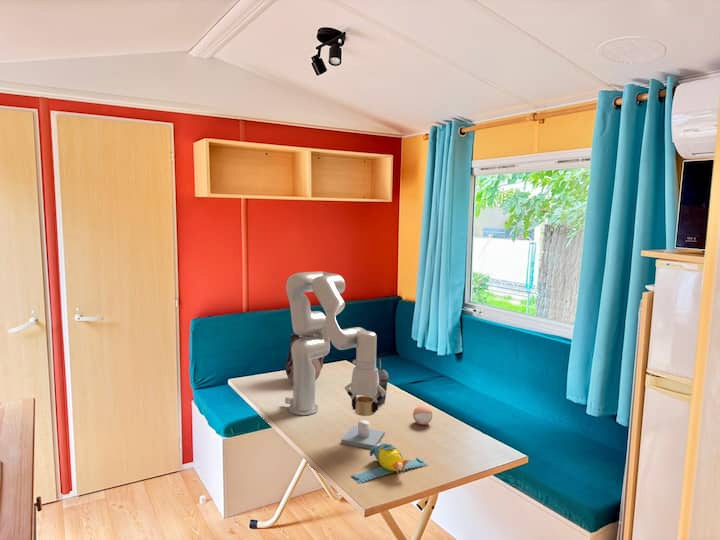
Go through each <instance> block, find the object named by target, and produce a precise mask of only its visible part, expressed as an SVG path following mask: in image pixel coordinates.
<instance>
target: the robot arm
mask: <svg viewBox="0 0 720 540" xmlns="http://www.w3.org/2000/svg"><path fill="white" fill-rule="evenodd" d="M345 290H346V282H345V280H344V278H343V277H342V276H341V275H339V274H338V273H331V272H326V271H305V272H304V271H303V272H297V273H294V274H292V275H290V276H289V277H288V279H287V281H286V286H285V291H286V296H287V297H288V302H289V307H290V317H291V325H292V330H293V334H297V335H307V334H313V336H314V337H308V338H303V339H299V340H297V341H295V342H294V343H293V345H292V348H291V352H292V358H293V382H292V397H285V399H284V401H285V402H284V404H289V405H290V406H288V411H289V412H290V413H291V414H292V415H297V416H309V415H313V414H316V413H317V412H318V411H319V406H318V404H317V403H316V381H315V373H316V372H315V367H314V365H313V364H312V362H311V360H312V359H316V358H320V357H324V356H325V357H326V356H328V354H329V353H330V351H331V350H330V349H331V344H332V345H333V347H334V348H336V349H337V350H341V351H344V350H349V349H353V348H356V351H355V352H356V353H355V354H356V356H355V359H352V364H353V365H354V364H355V365H354V367H353V369H352V373H351V375H352V376H351V382H350V383H348V384H346V386H344V390H345V391H346V393H347V394H348V396H349V397H350V399H351V407H352V410H353V411H355V398H356V397H357V396H370V397H373V399H374V403H373V413H374V414H375V413H377V411H378V410H379V404H378V403H379V400H381V399H382V398H383V397H384V395H385V394H386V395H387V393H388V392H387V391H385V390H384V389H383V388H382V387H381V386H380V385H379V374H378V369H379V368H378V367H377V339H378V338H377V334H376V332H374V331H372V330H371V331H370V330H366V329H365V328H363V327H359V326H357V327H349V328H344V329H341V328H340V326H339V324H338V321H337V319H336V316H337V315H339V314H341V312H342V311H344V309H345V307H346V303H345V301H344V299H343V297H342V295H340V294H343V293H344V292H345ZM311 292H313V293H314V295H315V296H316V298H317V299H318V302H319V303H320V305H321V307H322V308H323V310H324V312H325V313H324V312H322V311H318V310H315V311H312V310H311V302H310V300H309V298H308V296H307V295H306V293H311ZM325 357H324V358H325ZM379 391H380V392H381V395H380V396H378V394H377V393H378V392H379Z"/></svg>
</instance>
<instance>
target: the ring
mask: <svg viewBox="0 0 720 540" xmlns="http://www.w3.org/2000/svg"><path fill="white" fill-rule="evenodd" d="M373 403H374V399H373V397H370V396H362V395H358V396H356V398H355V410H354V413H355V415H357V416H361V417H370V416H373V415H374V414H375V413H373Z"/></svg>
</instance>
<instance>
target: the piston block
mask: <svg viewBox="0 0 720 540" xmlns="http://www.w3.org/2000/svg"><path fill="white" fill-rule="evenodd" d="M370 423H371V422H370V421H368V420H364V419H363V420H362V419H361V420H359V421H358V423H357V426H355V425H353V426H352V427H350V429H349V430H348V431H347V433H345V435H344V436H343V437H342V438H341V444H343V445H347V446H348V445H349V446H353V447H358V446H359V448H365V449H370V450H371V449H372V448H373V447H374V446H375V445H376V444H377V443H381V441H382V440H381V439H383V438H384V437H383V436H385V431H384V430H379V429H373V428H370Z"/></svg>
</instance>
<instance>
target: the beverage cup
mask: <svg viewBox="0 0 720 540" xmlns="http://www.w3.org/2000/svg"><path fill="white" fill-rule="evenodd" d="M377 369H378V374H379V385H380V386H381V387H382V388H383V389H384V390H385V391H386V392H387V389H388V384H389V379H390V377H389V373H388V372H387V371H386V370H385V369H383V368H382V361H381V358H379V368H377ZM377 394H378V396H380V395H381V392H380V391H379V392H378V393H377ZM386 396H387V393H386V394H385V395H384V397H383V398H382V399H381V400H379V403H378V405H384V404H385V403H386V398H387V397H386ZM383 403H384V404H383Z"/></svg>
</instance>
